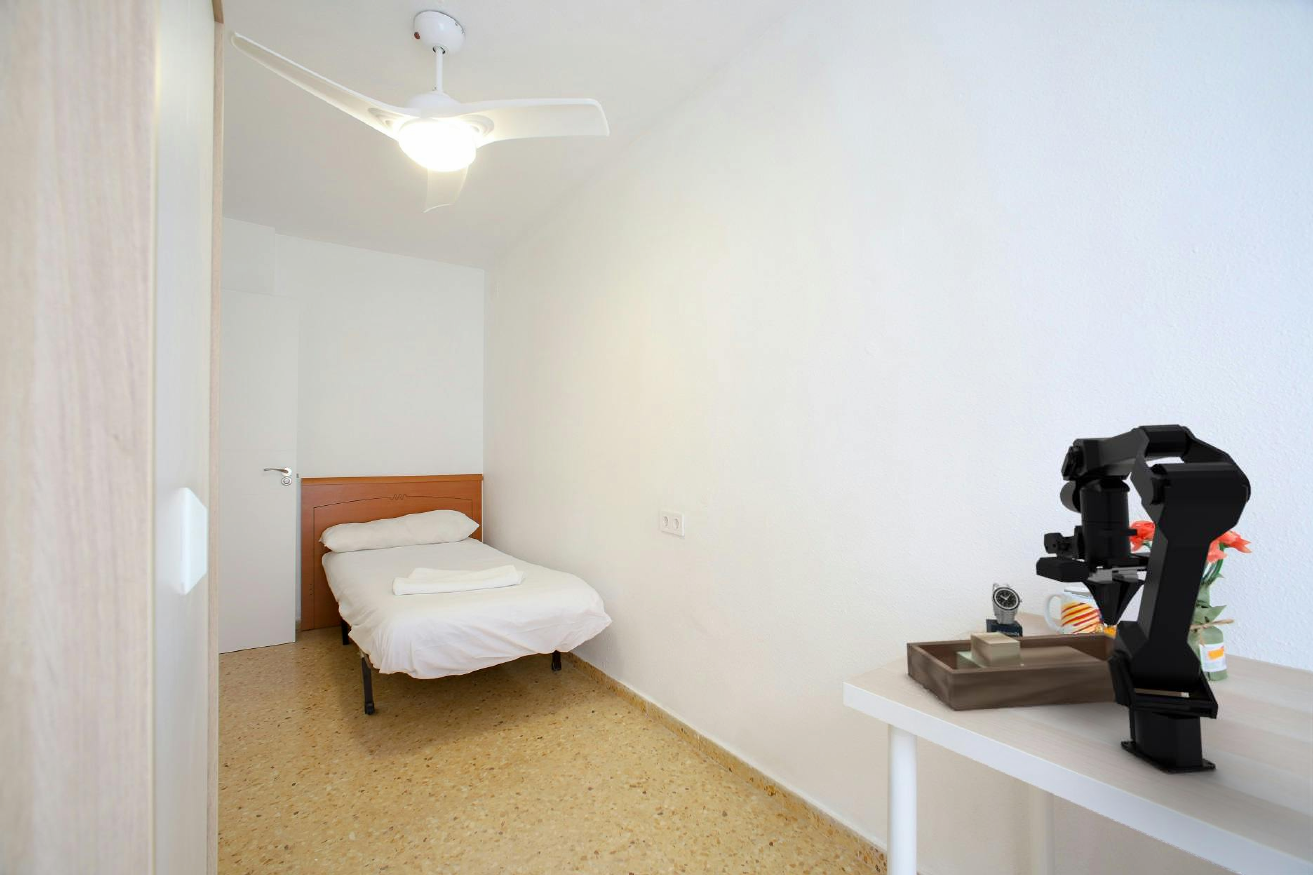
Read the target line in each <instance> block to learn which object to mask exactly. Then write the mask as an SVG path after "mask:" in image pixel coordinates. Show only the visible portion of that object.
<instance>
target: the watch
mask: <svg viewBox="0 0 1313 875" xmlns="http://www.w3.org/2000/svg"><path fill="white" fill-rule="evenodd" d="M991 602H992V611H993V615H994V617H995V619H991V618H986V619H985V624H986V633H994V632H1000V633H1002V634H1004V635H1006V636H1008V637H1023V636H1024V634H1023V633H1024V632H1023V631H1024V630H1023V626H1022V625H1021V624H1020V623H1019V622H1018V620H1015V618H1016V617H1015V616H1017V614H1018V611H1019V607H1020V605H1021V603H1023V598H1020V595H1019V594H1018V592H1017V591H1016V590H1015V589H1014V588H1013V587H1012V585H1011V586H1010V584H1009V583H1007V582H1006V583H1003V582H993V584H992V594H991Z"/></svg>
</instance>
